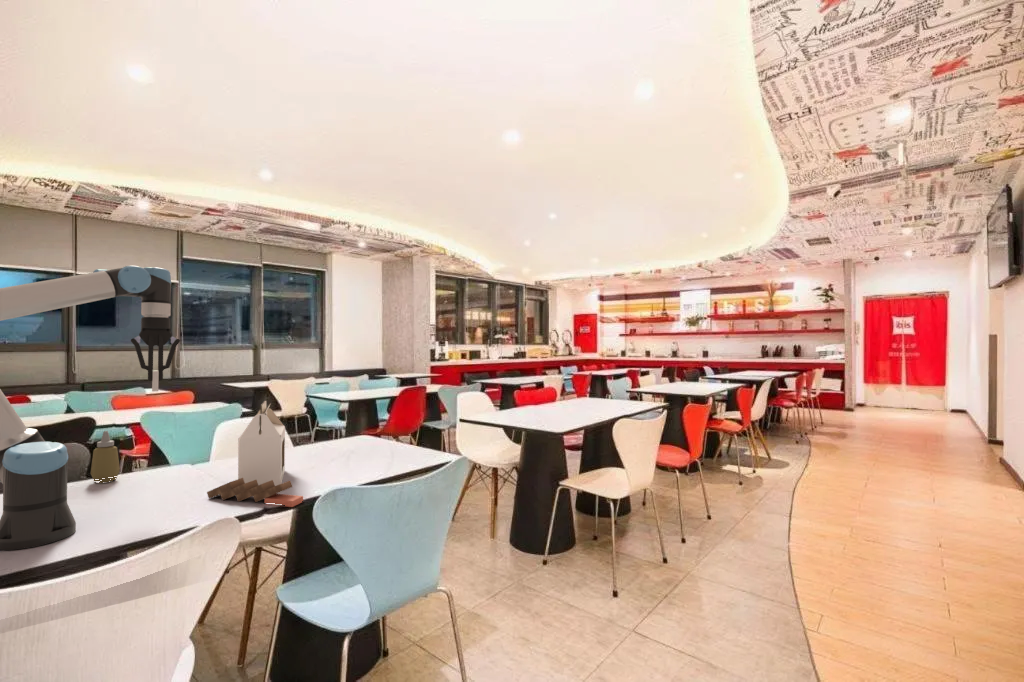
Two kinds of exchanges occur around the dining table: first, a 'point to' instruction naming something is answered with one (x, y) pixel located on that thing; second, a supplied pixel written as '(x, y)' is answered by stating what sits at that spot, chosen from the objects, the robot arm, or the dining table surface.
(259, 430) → the gable box
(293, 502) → the domino
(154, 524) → the dining table surface
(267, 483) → the domino
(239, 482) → the domino
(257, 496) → the domino
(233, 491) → the domino
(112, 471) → the squeeze bottle
